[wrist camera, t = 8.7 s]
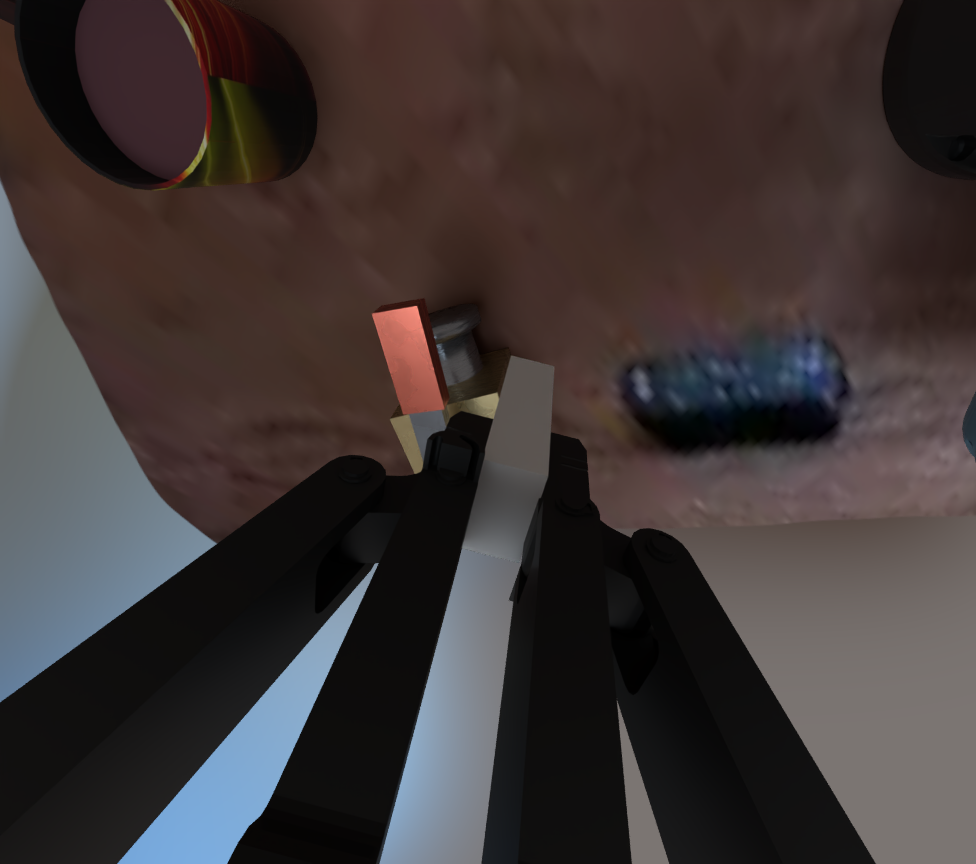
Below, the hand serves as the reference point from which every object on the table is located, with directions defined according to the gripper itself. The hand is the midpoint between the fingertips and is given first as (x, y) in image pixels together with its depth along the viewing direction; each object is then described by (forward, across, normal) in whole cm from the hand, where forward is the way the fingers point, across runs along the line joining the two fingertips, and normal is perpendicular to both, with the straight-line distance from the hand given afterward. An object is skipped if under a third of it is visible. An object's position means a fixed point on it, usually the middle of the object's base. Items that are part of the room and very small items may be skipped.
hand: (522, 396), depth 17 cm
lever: (+13, -5, -7) cm, 16 cm away
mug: (+23, -25, +6) cm, 34 cm away
